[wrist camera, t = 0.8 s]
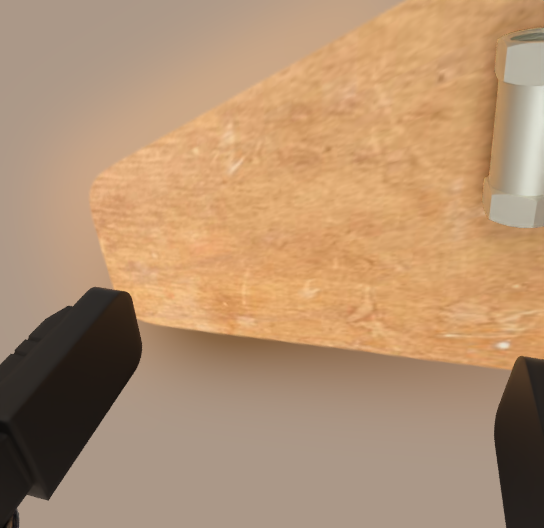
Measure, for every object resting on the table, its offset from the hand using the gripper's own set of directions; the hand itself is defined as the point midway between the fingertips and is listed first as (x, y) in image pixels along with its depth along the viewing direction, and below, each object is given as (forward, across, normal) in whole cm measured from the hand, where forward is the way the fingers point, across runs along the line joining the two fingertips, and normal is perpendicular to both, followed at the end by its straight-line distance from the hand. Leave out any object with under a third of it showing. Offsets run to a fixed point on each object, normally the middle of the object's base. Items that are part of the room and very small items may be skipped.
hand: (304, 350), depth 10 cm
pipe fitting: (+18, -9, 0) cm, 20 cm away
